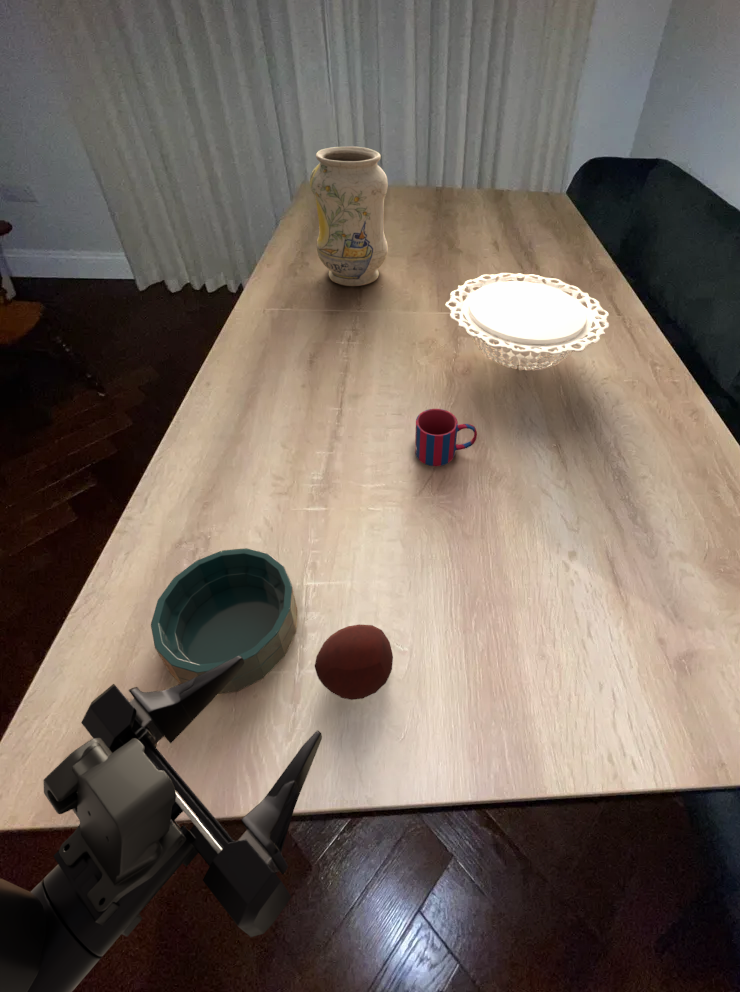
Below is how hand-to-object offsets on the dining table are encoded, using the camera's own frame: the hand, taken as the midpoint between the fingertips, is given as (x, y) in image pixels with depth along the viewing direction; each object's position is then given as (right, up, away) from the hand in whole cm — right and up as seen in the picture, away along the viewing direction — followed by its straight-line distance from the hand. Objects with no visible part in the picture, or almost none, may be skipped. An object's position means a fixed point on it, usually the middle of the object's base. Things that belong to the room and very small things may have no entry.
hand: (279, 694), depth 42 cm
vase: (-11, +55, +96) cm, 111 cm away
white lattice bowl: (+28, +31, +69) cm, 81 cm away
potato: (+3, -8, +18) cm, 20 cm away
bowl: (-12, -4, +21) cm, 25 cm away
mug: (+13, +14, +47) cm, 50 cm away
